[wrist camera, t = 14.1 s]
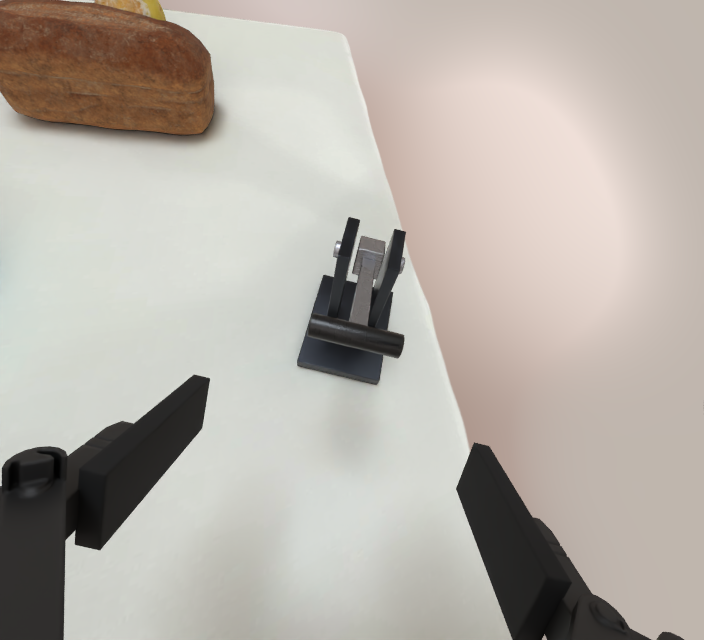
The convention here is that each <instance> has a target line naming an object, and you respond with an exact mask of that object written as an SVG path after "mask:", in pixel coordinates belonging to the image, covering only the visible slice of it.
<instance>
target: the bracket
mask: <svg viewBox="0 0 704 640" xmlns="http://www.w3.org/2000/svg"><path fill="white" fill-rule="evenodd" d="M359 223H360V220H358V219H355V218H351V217H349V218H348V221H347V225H346V228H345V232H344V235H343V239H342V242H341V241H337V242H336V245H335V249H334V254H333V257H336V258H337V262H336V268H335V274H334V277H330V276H327V275H323V278H322V281H321V284H320V288H319V291H318V294H317V298H316V301H315V304H314V308H313V311H312V314H313V313H317V314H321V315H325V316H329V317H333V318H337V319H342V320H346V321H349V319H350V314H351V309H352V304H353V299H354V295H355V290H356V285H357V283H354V282H350V281H346V279H347V275H348V271H349V266H350V262H351V258H352V253H353V249H354V245H355V240H356V236H357V232H358V227H359ZM405 234H406V232H404V231H401V230H397V229H394V232H393V235H392V238H391V240H390V243H389V246H388V249H387V251H386V254H385V257H384V260H383V263H382V265H381V268H380V272H379V275H378V278H377V279H376V282H375V285H374V287H372V294H371V302H370V310H369V318H368V326H370V327H374V328H378V329H382V330H386V331H387V328H388V322H389V316H390V309H391V303H392V296H393V292H391V290H392V288H393V286H394V283H395V281H396V279H397V277H398V274H401V273H402V271H403V268H404V264H405V258H404V257H402V254H403V248H404V241H405ZM312 314H311V317H312ZM311 317H310V320H311ZM309 323H310V321H309ZM308 328H309V324H308V327H307V331H306V334H305V337H304V341H303V344H302V347H301V350H300V354H299V357H298V360H297V365H298V366H301V367H306V368H310V369H314V370H318V371H322V372H326V373H331V374H335V375H339V376H343V377H347V378H351V379H355V380H360V381H364V382H368V383H372V384H377V383H378V382H379V379H380V373H381V367H382V360H383V355H381V354H377V353H373V352H369V351H365V350H361V349H357V348H353V347H349V346H344V345H340V344H336V343H332V342H328V341H324V340H320V339H316V338H312V337H308V336H307V333H308Z"/></svg>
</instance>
